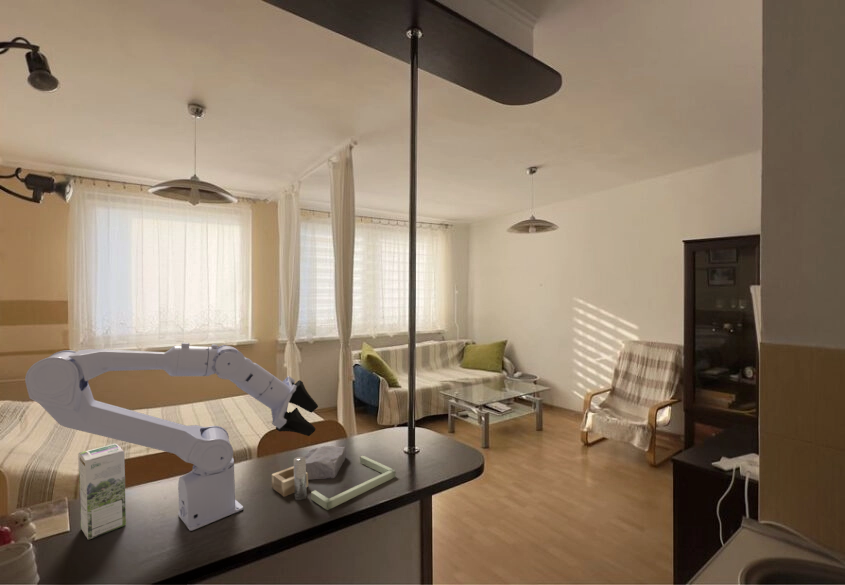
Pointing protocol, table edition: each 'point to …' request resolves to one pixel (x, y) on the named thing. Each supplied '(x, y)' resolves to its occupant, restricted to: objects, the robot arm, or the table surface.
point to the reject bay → (359, 489)
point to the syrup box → (102, 490)
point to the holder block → (285, 481)
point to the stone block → (324, 462)
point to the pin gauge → (300, 478)
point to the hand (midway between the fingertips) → (313, 420)
